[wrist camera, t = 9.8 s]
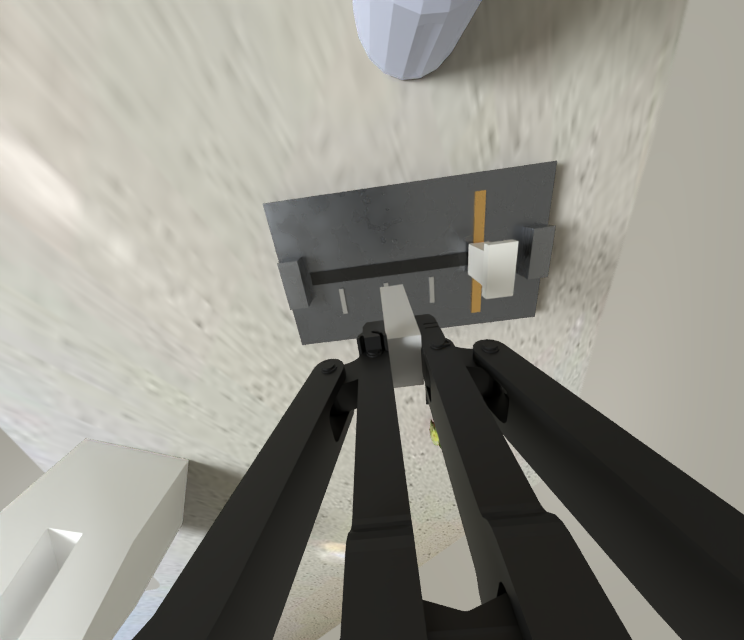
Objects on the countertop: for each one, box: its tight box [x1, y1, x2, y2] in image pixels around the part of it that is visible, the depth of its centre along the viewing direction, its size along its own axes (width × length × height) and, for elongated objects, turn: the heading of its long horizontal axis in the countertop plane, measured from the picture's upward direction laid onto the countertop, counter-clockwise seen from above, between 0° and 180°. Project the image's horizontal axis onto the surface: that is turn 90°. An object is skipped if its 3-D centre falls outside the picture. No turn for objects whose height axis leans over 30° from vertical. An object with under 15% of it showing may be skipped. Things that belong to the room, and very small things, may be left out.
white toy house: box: [0, 438, 189, 640], centre depth 35 cm, size 19×15×25 cm
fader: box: [468, 239, 518, 299], centre depth 25 cm, size 5×2×5 cm, turn 8°
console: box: [263, 161, 557, 345], centre depth 28 cm, size 16×28×4 cm, turn 97°
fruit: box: [429, 420, 441, 448], centre depth 39 cm, size 4×6×5 cm
